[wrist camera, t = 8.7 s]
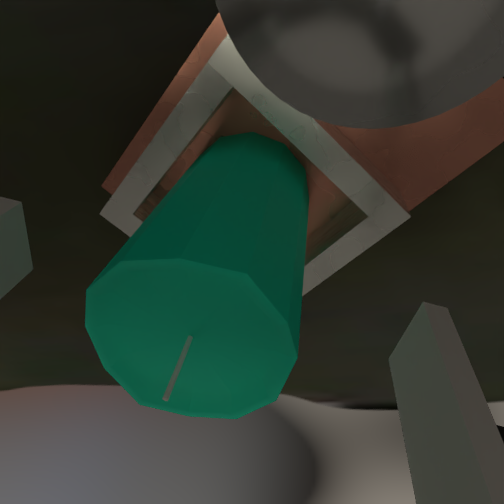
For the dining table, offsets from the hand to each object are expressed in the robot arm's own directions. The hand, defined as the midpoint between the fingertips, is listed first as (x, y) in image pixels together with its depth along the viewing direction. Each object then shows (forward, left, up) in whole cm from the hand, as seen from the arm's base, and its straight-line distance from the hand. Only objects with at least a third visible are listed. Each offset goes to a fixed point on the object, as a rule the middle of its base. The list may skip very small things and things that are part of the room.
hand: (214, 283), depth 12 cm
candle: (0, 0, -8) cm, 8 cm away
